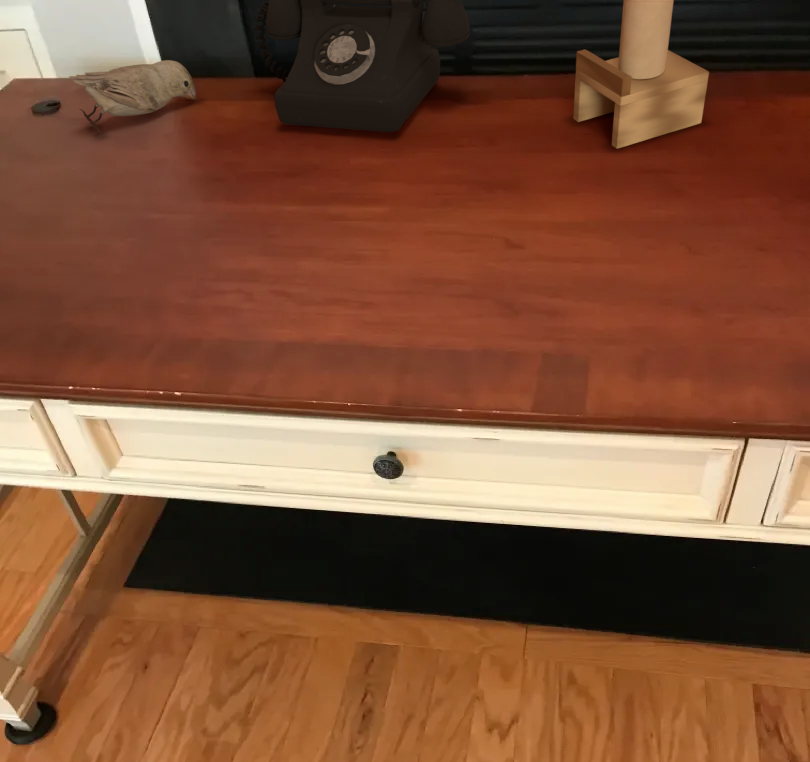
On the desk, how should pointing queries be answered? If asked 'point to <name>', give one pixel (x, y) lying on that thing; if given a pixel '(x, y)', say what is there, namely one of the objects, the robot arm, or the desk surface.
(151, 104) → the decorative bird
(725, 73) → the desk surface
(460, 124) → the desk surface
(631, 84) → the wooden stand
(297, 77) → the rotary telephone
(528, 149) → the desk surface
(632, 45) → the candle
